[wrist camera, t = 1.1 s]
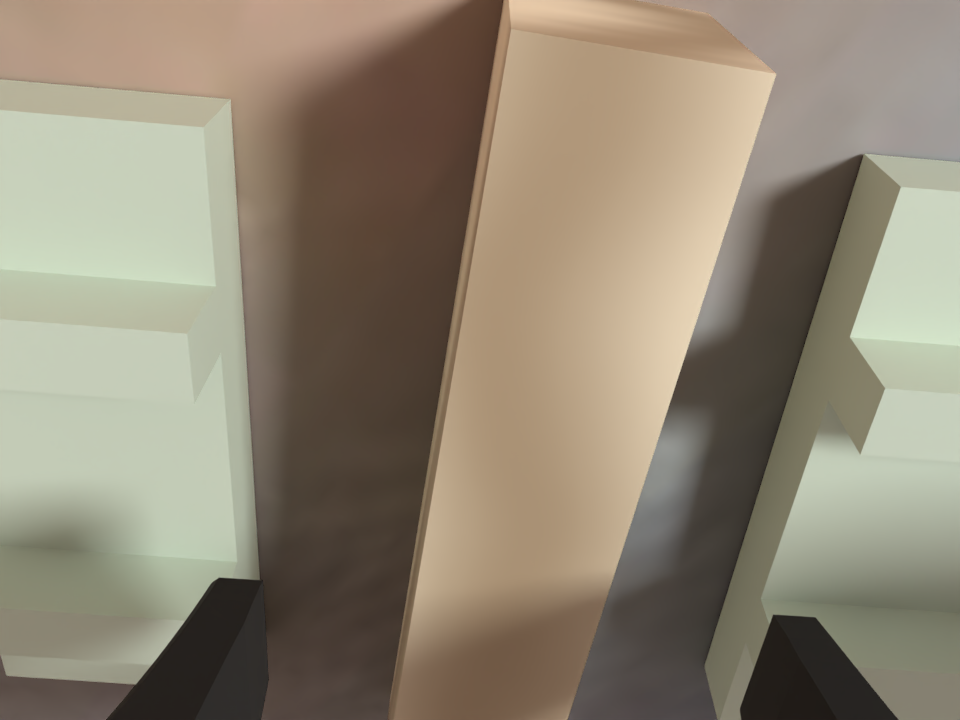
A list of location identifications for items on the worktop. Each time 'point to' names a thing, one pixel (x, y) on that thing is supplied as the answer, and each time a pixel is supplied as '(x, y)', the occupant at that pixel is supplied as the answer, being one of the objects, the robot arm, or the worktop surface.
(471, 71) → the worktop surface
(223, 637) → the robot arm
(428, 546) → the bar
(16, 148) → the stand
